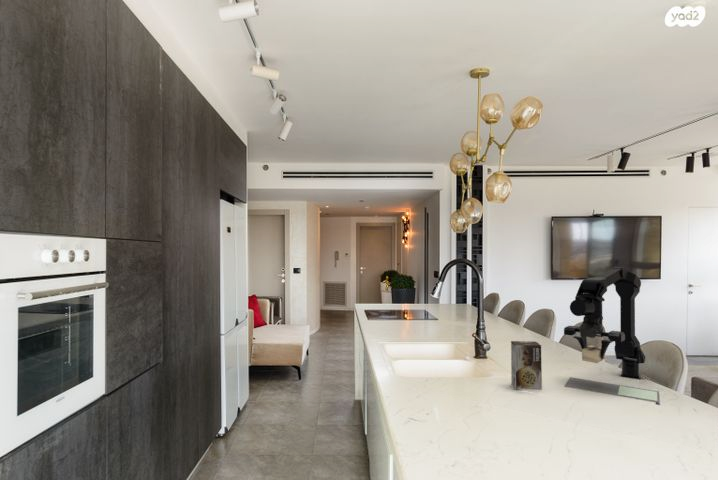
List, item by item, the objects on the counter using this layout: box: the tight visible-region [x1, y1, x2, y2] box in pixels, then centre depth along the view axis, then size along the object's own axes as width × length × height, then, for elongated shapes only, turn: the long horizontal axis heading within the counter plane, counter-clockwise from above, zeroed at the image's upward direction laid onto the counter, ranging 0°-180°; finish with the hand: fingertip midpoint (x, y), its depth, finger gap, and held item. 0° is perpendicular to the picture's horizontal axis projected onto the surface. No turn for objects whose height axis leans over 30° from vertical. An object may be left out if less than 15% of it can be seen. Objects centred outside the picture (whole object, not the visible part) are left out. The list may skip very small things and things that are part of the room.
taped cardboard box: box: [581, 345, 606, 364], centre depth 153 cm, size 9×5×4 cm, turn 136°
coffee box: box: [510, 340, 543, 391], centre depth 152 cm, size 9×6×16 cm
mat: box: [563, 376, 660, 406], centre depth 150 cm, size 14×28×1 cm, turn 55°
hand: (593, 357), depth 153 cm, fingers closed on taped cardboard box, 5 cm apart
